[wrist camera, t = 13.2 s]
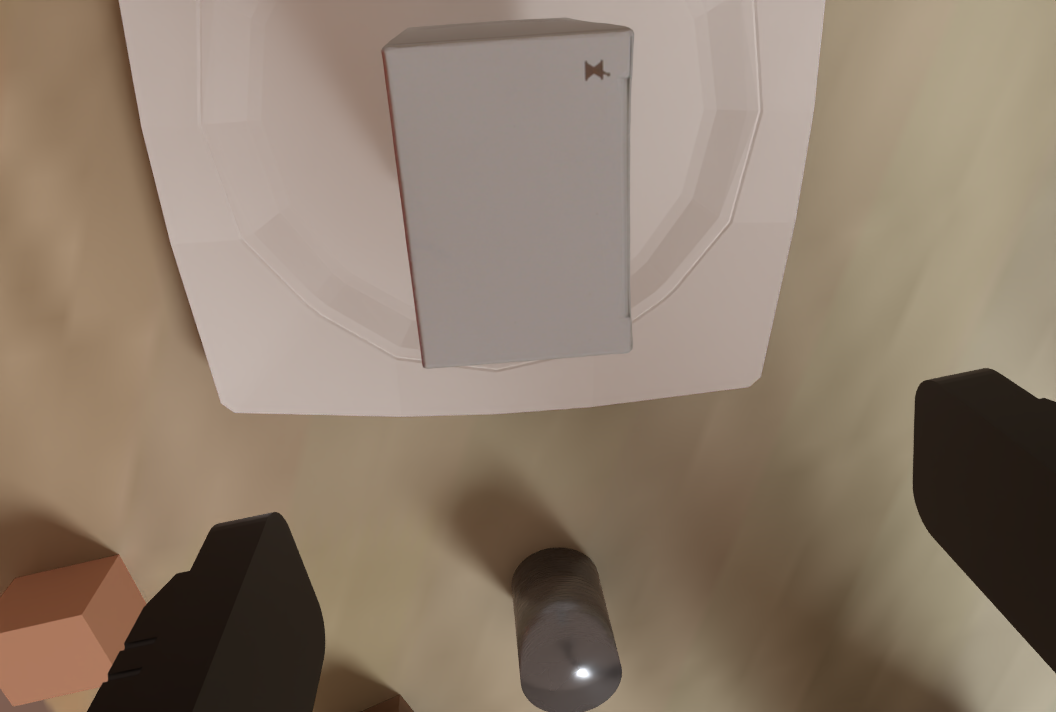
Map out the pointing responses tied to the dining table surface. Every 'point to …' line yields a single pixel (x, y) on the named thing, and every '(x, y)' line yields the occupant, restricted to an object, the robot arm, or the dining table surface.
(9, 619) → the terracotta block
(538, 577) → the slate grey cylinder
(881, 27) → the dining table surface
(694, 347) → the plate
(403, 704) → the walnut block
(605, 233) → the small box
